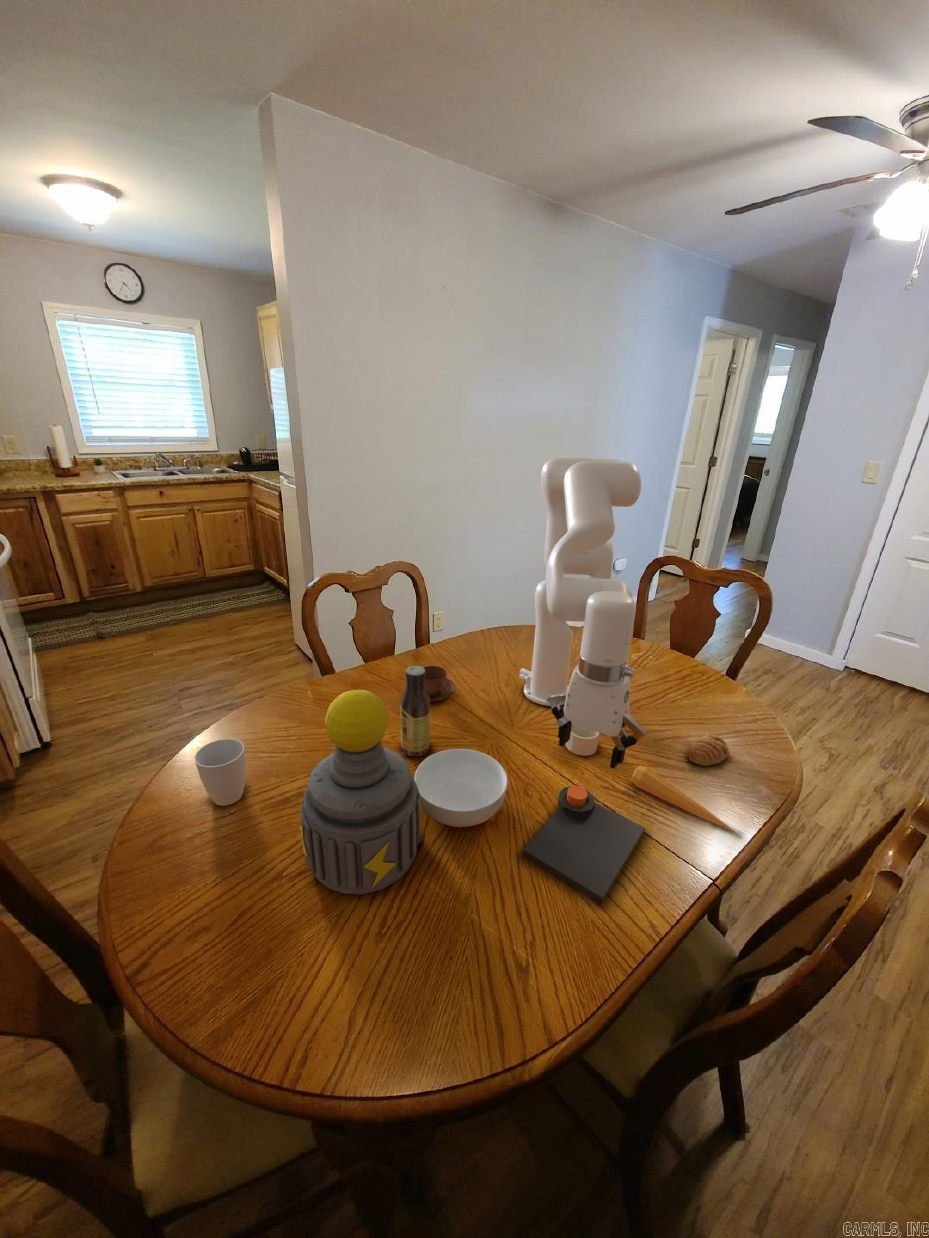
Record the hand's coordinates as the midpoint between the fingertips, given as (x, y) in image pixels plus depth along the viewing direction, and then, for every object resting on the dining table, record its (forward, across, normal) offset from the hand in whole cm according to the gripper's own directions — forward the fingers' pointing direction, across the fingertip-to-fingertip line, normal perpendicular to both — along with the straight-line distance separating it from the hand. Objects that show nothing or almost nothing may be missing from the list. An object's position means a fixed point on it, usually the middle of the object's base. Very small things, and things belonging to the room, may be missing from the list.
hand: (589, 753), depth 88 cm
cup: (+13, +53, +39) cm, 67 cm away
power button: (+10, +1, +1) cm, 10 cm away
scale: (+13, -4, +7) cm, 15 cm away
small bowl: (+13, +9, -19) cm, 24 cm away
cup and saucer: (+13, +49, -14) cm, 52 cm away
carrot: (+13, -14, -13) cm, 24 cm away
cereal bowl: (+13, +18, +13) cm, 26 cm away
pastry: (+13, -15, -33) cm, 39 cm away
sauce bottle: (+13, +36, +6) cm, 39 cm away
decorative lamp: (+13, +24, +31) cm, 42 cm away
